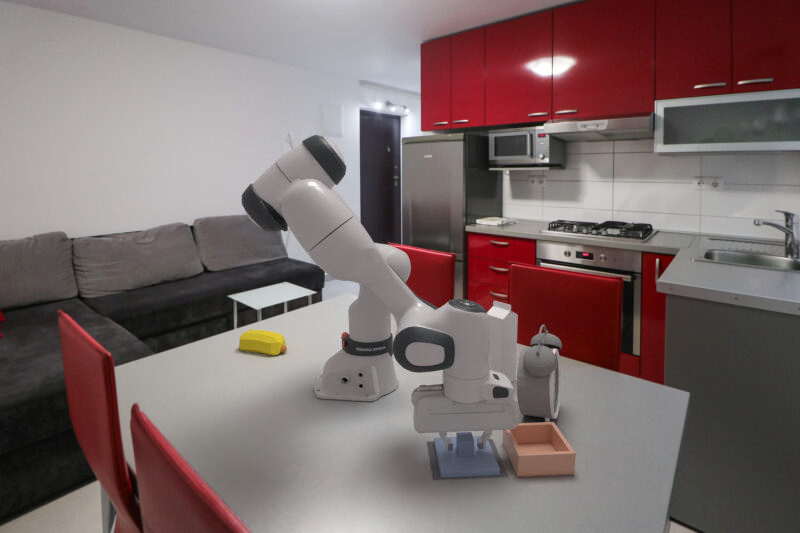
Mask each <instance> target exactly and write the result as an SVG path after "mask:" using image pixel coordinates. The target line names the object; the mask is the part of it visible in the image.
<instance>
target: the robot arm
mask: <svg viewBox="0 0 800 533" xmlns="http://www.w3.org/2000/svg"><path fill="white" fill-rule="evenodd" d="M301 142H302V143H300V144H298V145H297V146H295V147H294V148H291V149H290V150H288V151H287V152H286V153H284V154H283V155H281V156H280V157H279V158H277V159H276V160H275V162H274V163H273V164H272V165H271V166H269V167H268V168H267V169H266V170H265V171H264V172H262V174H261V175H259V177H258V178H257V179H256V180H255V181H254V182H253V183H250V184H249V185H248V186H247V187H246V189H245V190H244V191H243V192H242V194H241V205H242V207H243V209H244V212H245V214H246V216H247V217H248V219H249V220H250V221H251V223H253V224H255V226H257V227H258V228H261V229H262V230H263V231H265V232H269V233H270V232H271V233H277V232H281V231H283V232H288V231H289V230H290V232H291V233H292V234H293V236H294V238H295V239H296V240H297V242H298V243H299V245H300V246H301V248H302V249H303V250H304V252H306V253H307V255H308V256H309V257H310V258H311V259H312V261H313V262H314V263H315V264H316V266H318V267H319V268H320V270H322V271H323V272H324V273H326V274H327V275H328V276H329V277H331V278H332V279H334V280H337V281H342V282H343V281H344V282H345V281H346V282H352V283H357V284H359V291H358V297H357V299H356V300H354V301H353V302H351V304H350V305H349V306H348V310H347V311H348V312H347V316H348V332H349V333H348V332H347V331H343V332H342V334H341V337H340V339H341V349H339V351H337V352H336V353H335V354H333V355H332V356H330V357H329V358H328V359H327V360H326V362H325V364H324V366H323V368H322V369H323V370H322V373H321V374H320V375H319V376H318V377H317V378H316V379H315V382H314V386H313V393H314V396H315V397H316V398H317V399H323V400H336V401H337V400H339V401H357V402H375V401H377V400H378V399H380V398H381V397H383V396H385V395H388V394H390V393H392V392H394V391H395V390H396V389H397V387H399V380H398V378H397V374H396V370H395V366H394V365H395V364H394V360H393V358H394V359H395V360H396V362H397V364H398V365H399V366H401V367H402V368H403V369H405V371H409V372H411V373H419V374H420V373H421V374H422V373H431V372H438V371H442V383H438V384H420V385H419V386H418V387H415V388H414V389H413V390H412V391H411V403H412V405H413V412H412V414H413V415H412V418H413V419H412V422H413V423H412V424H413V429H414V430H415V432H417V433H418V434H430V433H431V434H433V433H437V434H438V433H439V437H441V439H442V440H443V442H444V447H445V451H453V442H452V438H447V437H448V433H457V432H481V431H483V432H482V434H481V435H480V436H481V437H477V447H478V449H486V442H487V441H488V439H491V436H492V435H493V431H503V430H511V429H515V428H516V427H517V426H518V424H519V423H520V411H519V405H518V401H517V400H516V397H515V387H514V386H513V382H510V380H509V379H508V377H507V376H506V375H505V374H503V373H500V372H496V371H492V370H490V368H489V364H488V355H489V352H490V322H489V317H488V314H487V312H488V311H487V310H486V309H485V308H484V306H482V305H481V304H479V303H478V302H475V301H473V300H469V299H463V298H455V299H449V300H448V301H447V302H445V304H443V305H441V307H437V306H436V305H434V304H433V303H431V302H429V301H427V300H426V299H423V298H422V297H420V296H418V295H417V294H416V293H415V292H414V291H413V290H412V289H411V288H410V287H409V286H410V285H409V286H408V283H407V281H408V279H409V277H410V275H411V272H412V271H411V270H412V265H411V259H410V258H409V255H408V254H407V252H405V251H403V250H402V249H400V248H397V247H395V246H394V245H393V246H392V245H390V244H386V243H385V244H384V243H378V242H374V241H373V239H372V237H371V235H370V234H369V233H368V231H367V230H366V228H365V226H364V225H363V224H362V222H361V221H360V218H359V217H358V215H357V214H356V213H355V211H353V209H352V208H351V207H350V205H349V204H348V203H347V202H346V200H345V199H344V198H343V197H342V196H341V195H340V193H339V192H338V191H337V190H336V189H335V188H334V186H338V185H339V184H340V182H341V181H342V180H343V179H344V177H345V176H346V172H347V165H346V162H345V159H344V156H343V153H342V152H341V150H340V148H338V146H337V145H336V144H335V143H333V142H332V141H331V140H329V139H327V138H325V137H324V136H322V135H318V134H314V135H311V136H309V137H307V138H305V139H304V140H302V141H301ZM392 316H393V318H394V321H395V323H396V324H395V325H396V327H397V328H396V331H395V335H394V336H393V333H392Z"/></svg>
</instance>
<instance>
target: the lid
mask: <svg viewBox="0 0 800 533" xmlns="http://www.w3.org/2000/svg"><path fill="white" fill-rule="evenodd" d="M455 434H456V436H446V437H447V438H452V442H453V451H445V447H444V442H443V440H442V439H441V437H440V436H438V437H436V436H435V437H433V441H434V445H435V450H436V455H437V460H438V465H439V470H440V475H441V478H446V477H468V476H490V475H500V468H499V466H498V463H497V461H496V459H495V456H494V454H493V451H492V449H491V446H490V444H489V441H487V442H486V449H478V447H477V437H481V435H473V434H472V431H462V432H455Z"/></svg>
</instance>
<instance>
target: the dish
mask: <svg viewBox="0 0 800 533" xmlns="http://www.w3.org/2000/svg"><path fill="white" fill-rule="evenodd" d="M502 446H503V448H504V450H505V452H506V454H507V457H508V459H509V461H510V462H511V465H512V467H513V469H514V471H515V474H516V477H517V478H532V477H555V476H574V475H575V471H576V469H575V468H576V458H577V457H576V455H577V454H576V451H575V450H574V449H573V447H572V446H571V444H570V443H569V442H568V440H567V439H566V437H565V436H564V435H563V433H562V432H561V430H560V429H559V428H558V426H557V424H556V423H555V421H550V422H545V421H543V422H522V423H520V422H519V424H518V426H517V427H516V428H515V429H511V430H502Z"/></svg>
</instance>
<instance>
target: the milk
mask: <svg viewBox="0 0 800 533" xmlns="http://www.w3.org/2000/svg"><path fill="white" fill-rule="evenodd" d="M492 304H493V305H492V306H491V308H490V309H489V310H488V311H486V312H487V314H488V317H489V322H490V352H489V355H488V364H489V368H490V370H492V371H496V372H500V373H503V374H505V375H506V376H507V377H508V379H509V380H510V382H511V383H513V382H515V381H516V379H517V376H516V375H517V373H516V370H517V346H518V345H517V344H518V324H519V323H518V320H519V319H518V317H519V315H518V314H517V313H516V312H514V311H512V305H511V304H508V303H504V302H500V301H497V300H493V302H492Z"/></svg>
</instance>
